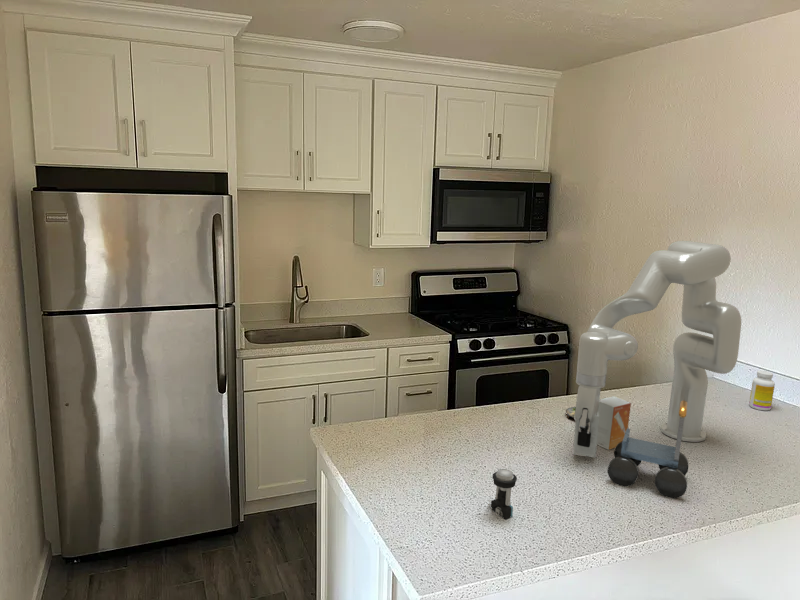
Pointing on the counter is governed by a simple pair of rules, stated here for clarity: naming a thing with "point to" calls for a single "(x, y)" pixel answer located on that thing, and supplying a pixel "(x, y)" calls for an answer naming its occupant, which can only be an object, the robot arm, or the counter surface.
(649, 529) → the counter surface
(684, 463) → the trolley
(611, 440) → the small box
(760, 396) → the supplement bottle
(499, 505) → the push button
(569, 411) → the burger
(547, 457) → the counter surface
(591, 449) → the skincare box
